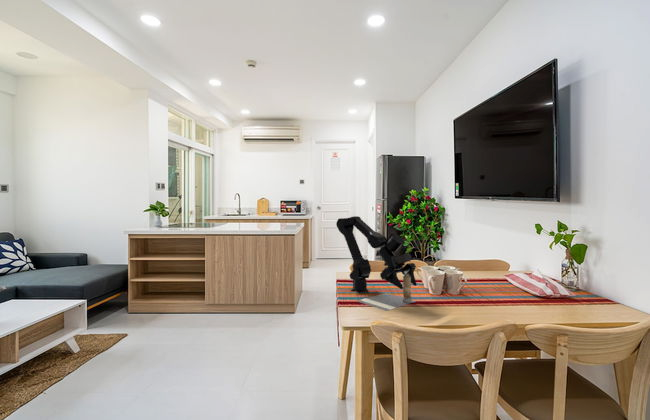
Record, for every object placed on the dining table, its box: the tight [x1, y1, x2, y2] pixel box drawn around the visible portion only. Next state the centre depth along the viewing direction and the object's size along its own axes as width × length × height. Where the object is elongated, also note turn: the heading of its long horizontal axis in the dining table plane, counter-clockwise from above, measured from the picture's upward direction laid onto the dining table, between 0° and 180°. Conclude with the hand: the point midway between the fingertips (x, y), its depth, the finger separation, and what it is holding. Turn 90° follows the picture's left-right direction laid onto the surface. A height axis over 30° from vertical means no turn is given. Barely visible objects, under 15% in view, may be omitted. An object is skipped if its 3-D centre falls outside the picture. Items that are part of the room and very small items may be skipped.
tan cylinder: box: [402, 274, 412, 304], centre depth 144 cm, size 4×4×12 cm
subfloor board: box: [356, 292, 417, 312], centre depth 145 cm, size 17×20×1 cm
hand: (409, 286), depth 143 cm, fingers open, 9 cm apart
